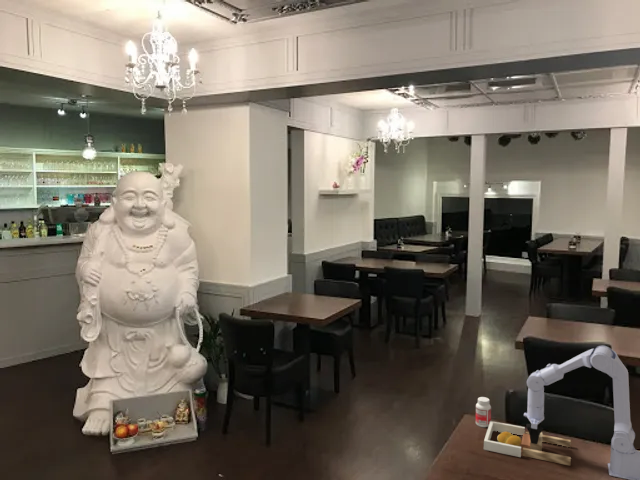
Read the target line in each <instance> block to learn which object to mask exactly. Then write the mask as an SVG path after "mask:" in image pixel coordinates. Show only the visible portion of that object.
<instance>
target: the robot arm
mask: <svg viewBox="0 0 640 480" xmlns="http://www.w3.org/2000/svg"><path fill="white" fill-rule="evenodd" d="M581 367H587V368H589V369H591V368H592V367H593V368H594V369H596V370H597V371H601V372H602V373H604V374H607V375H608V376H609V377H610V378H612V392H613V394H612V395H613V414H614V424H613V425H614V426H613V431H614V432H613V436H612V438H611V441H610V442H611V443H610V459H609V463H607V469H608V475H609V476H612V477H616V478H620V479H625V480H640V450H637V449H636V447H635V446H634V441H635V439H636V433H635V431H634V429H633V427H632V426H633V425H632V421H631V409H630V407H631V406H630V404H631V403H630V401H631V400H630V386H629V384H630V383H629V379H630V378H629V372H628V371H629V370H628V369H627V368H626V366H625V365H624V364H623V362H622V360H621V359H620V358H619V356H618V353H617V351H615V350H613V349H612V348H610V347H609V346H606V345H598V346H596V347H595V348H591V349H587V350H586V351H584V352H582V353H580V354H578V355H576V356H574V357H572V358H571V359H569V360H566V361H564V362H563V363H561V364H557V363H548V364H547V365H546V366H545V367H544V368H541V369H540V370H539V369H537V370H536V371H533V372H532V373H530V375H529V376H528V378H527V380H526V386H527V388H528V389H527V407H526V408H527V411H526V412H524V413H523V417H525V418H527V419H528V421H529V422H530V423H526V429H527V432H529V435H530V440H531V443H533V444H537V443H538V439H539V435H540V433H541V432H542V431H543V430H544V429H543V428H544V427H542V426H541V425H542V423H543V421H544V420H545V414H544V413H545V392H544V391H545V387H544V386H549V385H551V384H554V383H555V382H557V381H560V380H562V379H564V375H565V374H566V373H568V372H572V371H573V370H576V369H578V368H581Z"/></svg>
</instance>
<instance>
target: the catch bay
mask: <svg viewBox="0 0 640 480" xmlns="http://www.w3.org/2000/svg"><path fill="white" fill-rule="evenodd" d="M497 431H498V433H502V432H510V433H512V434H517V435H523V433H524V434H526V428H525V426H521V425H515V424H510V423H503V422H499V421H494V420H491V421H490V424H489V427H487V430H486V433H485V437H484V440H483V450H484V451H487V452H489V451H490V452H494V453H498V454H503V455H508V456H513V457H516V458H517V457H518V458H521V457H522V452H521V447H519V446H515V445H510V444H505V443H500V442H498V441H494V440H491V438H492V436H493V432H497ZM517 435H516V436H517Z"/></svg>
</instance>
